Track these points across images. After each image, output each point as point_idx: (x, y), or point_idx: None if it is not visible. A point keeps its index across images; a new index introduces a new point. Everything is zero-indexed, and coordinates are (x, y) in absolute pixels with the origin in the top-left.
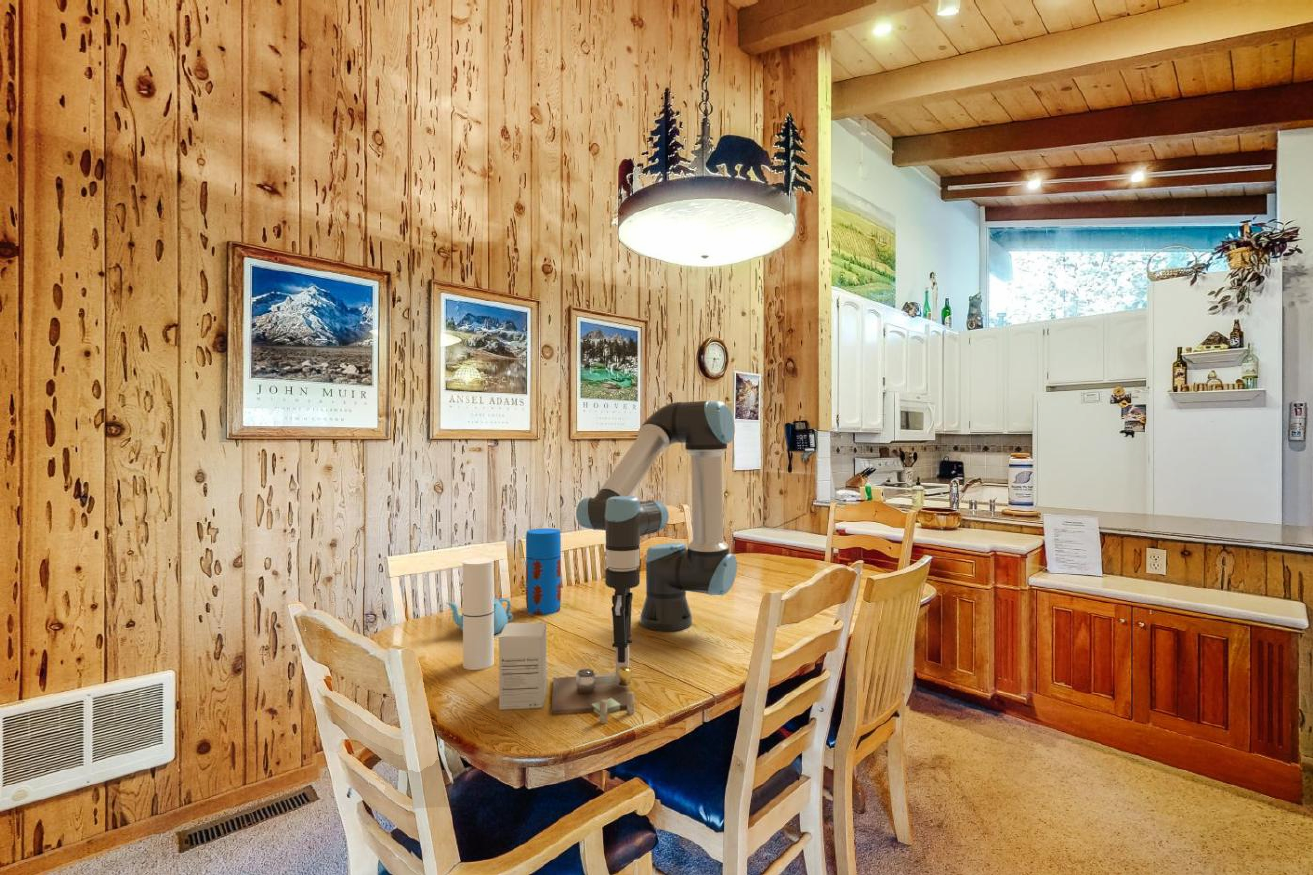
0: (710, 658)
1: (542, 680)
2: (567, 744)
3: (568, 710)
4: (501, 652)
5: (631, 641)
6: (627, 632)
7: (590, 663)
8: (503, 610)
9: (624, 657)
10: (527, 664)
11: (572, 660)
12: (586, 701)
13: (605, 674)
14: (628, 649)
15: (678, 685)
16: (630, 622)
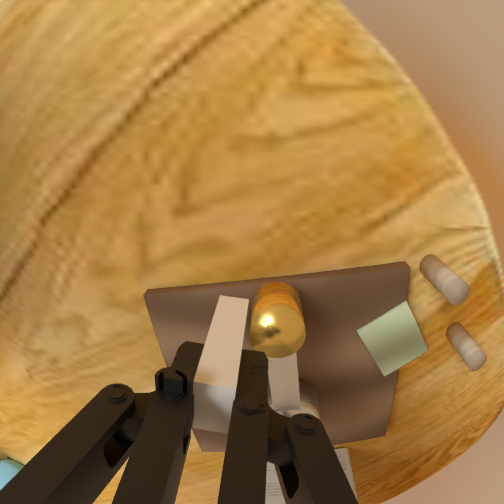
0: (12, 14)
1: (355, 496)
2: (500, 374)
3: (389, 410)
4: None
5: (189, 383)
6: (176, 446)
7: (76, 371)
8: (3, 483)
9: (256, 366)
10: None
11: (74, 403)
12: (358, 387)
13: (281, 385)
14: (221, 371)
15: (216, 81)
16: (67, 445)
